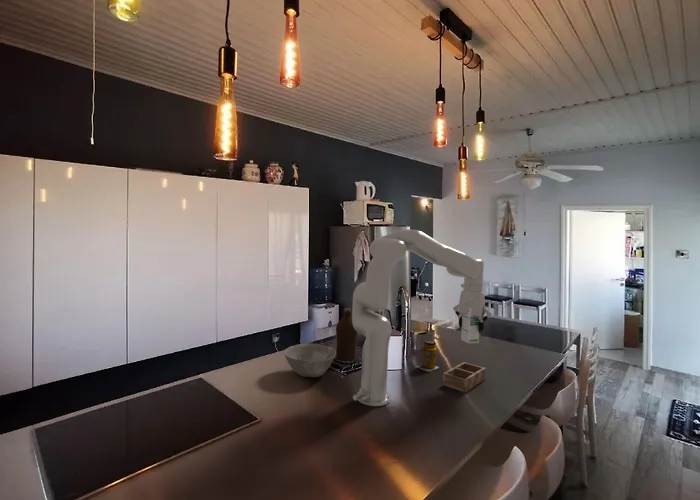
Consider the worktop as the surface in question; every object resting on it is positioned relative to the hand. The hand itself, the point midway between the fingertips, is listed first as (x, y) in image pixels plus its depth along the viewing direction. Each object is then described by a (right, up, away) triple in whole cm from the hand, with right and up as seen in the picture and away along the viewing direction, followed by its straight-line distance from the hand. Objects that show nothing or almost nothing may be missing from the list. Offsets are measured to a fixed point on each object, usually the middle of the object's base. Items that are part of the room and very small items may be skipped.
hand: (471, 328), depth 161 cm
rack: (-3, -22, -2) cm, 22 cm away
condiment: (-16, -21, +14) cm, 30 cm away
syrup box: (0, -6, 0) cm, 6 cm away
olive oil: (-54, -19, +20) cm, 60 cm away
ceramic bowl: (-69, -20, +1) cm, 72 cm away
